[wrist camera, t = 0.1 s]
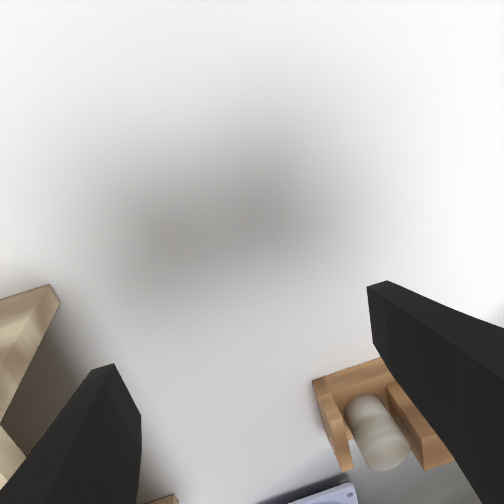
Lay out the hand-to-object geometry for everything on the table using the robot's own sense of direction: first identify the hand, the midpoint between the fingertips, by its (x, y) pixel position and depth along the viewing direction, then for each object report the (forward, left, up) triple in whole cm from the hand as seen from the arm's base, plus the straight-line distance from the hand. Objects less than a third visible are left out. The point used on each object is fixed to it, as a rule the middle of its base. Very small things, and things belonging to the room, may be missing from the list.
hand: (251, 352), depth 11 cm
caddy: (-16, -9, -11) cm, 21 cm away
